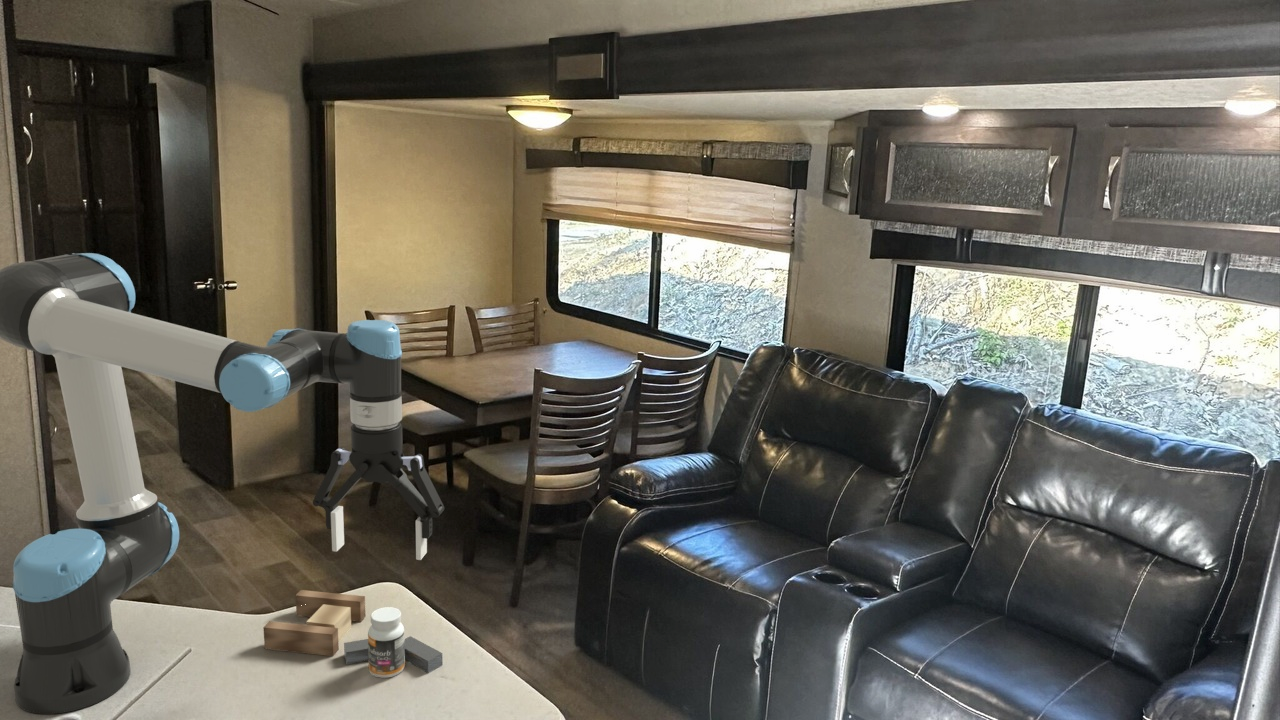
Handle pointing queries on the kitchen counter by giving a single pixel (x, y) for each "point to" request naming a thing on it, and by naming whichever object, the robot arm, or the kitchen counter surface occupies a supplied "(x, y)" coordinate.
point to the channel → (308, 635)
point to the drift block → (332, 618)
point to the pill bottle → (386, 643)
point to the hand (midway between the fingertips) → (379, 552)
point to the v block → (414, 653)
